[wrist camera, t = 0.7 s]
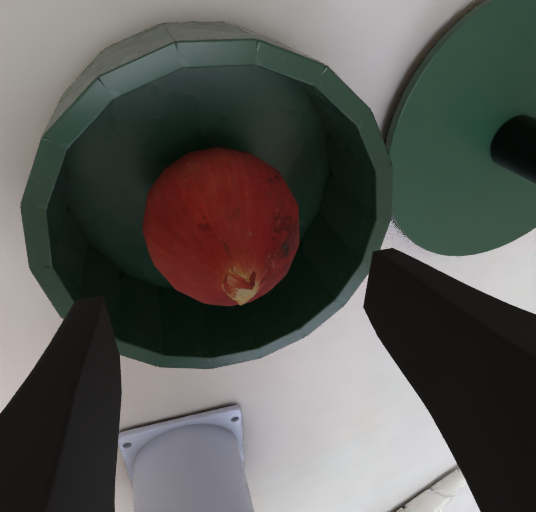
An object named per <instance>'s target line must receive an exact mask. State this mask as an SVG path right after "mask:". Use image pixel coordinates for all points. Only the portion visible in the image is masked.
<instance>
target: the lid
mask: <svg viewBox="0 0 536 512" xmlns="http://www.w3.org/2000/svg"><path fill="white" fill-rule="evenodd" d="M385 146H386V149H387V151H388V154H389V156H390V159H391V162H392V165H393V183H392V218H393V220H394V222H395V223H396V225H397V226H398V227H399V229H400V230H401V231H402V232H403V234H405V235H406V236H407V237H408V238H409V239H410V240H411V241H412V242H414V243H415V244H416V245H418V246H420V247H421V248H423V249H425V250H427V251H430V252H433V253H436V254H441V255H447V256H466V255H474V254H478V253H483V252H487V251H490V250H493V249H496V248H499V247H501V246H503V245H506V244H508V243H510V242H512V241H514V240H516V239H518V238H519V237H521V236H523V235H525V234H527V233H528V232H530V231H531V230H533V229H534V228H536V0H485V1H483V2H482V3H480V4H479V5H478V6H476V7H475V8H474V9H472V10H471V11H470V12H469V13H467V14H466V15H465V16H463V17H462V18H461V19H460V20H459V21H458V22H457V23H456V24H455V25H454V26H453V27H452V28H451V29H450V30H449V31H447V32H446V34H445V35H444V36H443V37H442V38H441V39H440V40H439V42H438V43H437V44H436V45H435V46H434V47H433V48H432V50H431V51H430V52H429V54H428V55H427V56H426V58H425V59H424V61H423V62H422V63H421V65H420V66H419V68H418V69H417V70H416V72H415V74H414V75H413V77H412V79H411V81H410V82H409V84H408V86H407V88H406V89H405V91H404V93H403V95H402V98H401V100H400V102H399V104H398V106H397V109H396V111H395V114H394V116H393V119H392V122H391V125H390V128H389V131H388V136H387V140H386V145H385Z"/></svg>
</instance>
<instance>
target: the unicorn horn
mask: <svg viewBox="0 0 536 512" xmlns="http://www.w3.org/2000/svg"><path fill="white" fill-rule="evenodd" d="M465 483H466V480H465V478H464V476H463V474H462V472H461V470H460V468H458V470H457V471H454V472H452V473H451V474H449V475H448V476H446V477H445V478H443V479H442V480H440V481H439V482H437V483H436V484H434V485H433V486H431V490H426V491H424V492H423V493H421V494H420V495H418V496H417V497H415V498H414V499H413V500H411V501H410V502H408V503H407V504H405V506H406V508H404V509H403V508H400V509H398V510H397V511H396V512H440V511H441V510H442V509H443V508H444V507H445V506H446V505H447V504H448V502H449V501H450V500H451V499H452V498H453V497H454V496H455V494H456V493H457V492H458V491H459V490H460V489H461V488H462V486H463V485H464V484H465Z"/></svg>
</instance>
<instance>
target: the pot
mask: <svg viewBox="0 0 536 512" xmlns="http://www.w3.org/2000/svg"><path fill="white" fill-rule="evenodd" d="M214 147H222V148H228V149H233V150H239V151H244V152H248V153H250V154H253V155H254V156H256V157H258V158H259V159H261V160H262V161H264V162H266V163H267V164H269V165H270V166H272V167H274V168H275V169H277V170H278V171H279V172H280V174H281V175H282V177H283V179H284V180H285V182H286V184H287V185H288V187H289V189H290V191H291V192H292V194H293V196H294V197H295V200H296V202H297V204H298V206H299V246H298V248H297V251H296V254H295V256H294V258H293V261H292V263H291V266H290V268H289V270H288V273H287V274H286V275H285V277H284V278H283V279H282V280H281V281H280V282H278V283H277V284H276V285H275V286H274V287H273V288H272V289H271V290H270V291H268V292H267V293H266V294H264V295H262V296H261V297H259V298H257V299H255V300H253V301H251V302H248V303H245V304H243V305H239V304H238V305H233V306H221V305H210V304H205V303H202V302H200V301H198V300H196V299H194V298H192V297H190V296H188V295H186V294H184V293H182V292H179V291H177V290H176V289H175V288H174V287H173V286H172V285H171V284H170V282H169V281H168V280H167V279H166V278H165V277H164V276H163V275H162V273H161V272H160V271H159V270H158V269H157V268H156V267H155V266H154V264H153V261H152V259H151V257H150V255H149V251H148V248H147V245H146V241H145V238H144V235H143V231H142V228H143V219H144V213H145V207H146V201H147V195H148V191H149V190H150V188H151V187H152V186H153V184H154V183H155V181H156V180H157V179H158V177H159V176H160V174H161V173H162V172H163V170H164V169H165V168H166V167H168V166H169V165H171V164H172V163H174V162H175V161H177V160H179V159H180V158H182V157H183V156H185V155H186V154H188V153H189V152H194V151H199V150H204V149H209V148H214ZM392 183H393V165H392V162H391V159H390V156H389V154H388V151H387V149H386V146H385V143H384V141H383V138H382V136H381V133H380V131H379V128H378V125H377V123H376V120H375V118H374V115H373V112H372V111H371V109H370V108H369V107H368V106H367V105H366V104H365V103H364V102H363V101H362V100H361V99H360V98H359V97H358V96H357V95H356V94H355V93H354V92H353V91H352V90H351V89H350V88H349V87H348V86H347V85H346V84H345V83H344V82H343V81H342V80H341V79H340V78H339V77H338V76H337V75H336V74H335V73H334V72H333V71H332V70H331V69H330V68H329V67H328V66H326V65H325V64H323V63H321V62H319V61H317V60H315V59H313V58H311V57H308V56H306V55H304V54H302V53H300V52H298V51H296V50H293V49H291V48H289V47H287V46H285V45H283V44H281V43H278V42H276V41H273V40H271V39H268V38H266V37H263V36H260V35H258V34H255V33H253V32H250V31H248V30H245V29H243V28H240V27H237V26H235V25H232V24H230V23H225V22H184V23H164V24H159V25H157V26H155V27H153V28H151V29H148V30H145V31H143V32H140V33H138V34H136V35H133V36H131V37H129V38H126V39H124V40H123V41H121V42H120V43H117V44H115V45H113V46H111V47H108V48H106V49H105V50H104V51H102V52H101V53H100V54H99V55H98V56H97V58H96V59H95V60H94V61H93V62H92V63H91V64H90V65H89V66H88V67H87V68H86V69H85V70H84V71H83V73H82V74H81V75H80V76H79V77H78V78H77V80H76V81H75V82H74V83H73V84H72V85H71V86H70V87H69V89H68V90H67V91H66V92H65V93H64V94H63V96H62V97H61V99H60V101H59V103H58V105H57V107H56V109H55V111H54V113H53V115H52V117H51V119H50V121H49V123H48V125H47V128H46V130H45V132H44V134H43V136H42V138H41V141H40V144H39V147H38V150H37V153H36V157H35V160H34V163H33V166H32V169H31V172H30V175H29V179H28V182H27V185H26V188H25V191H24V194H23V197H22V201H21V206H20V208H21V215H22V222H23V229H24V236H25V243H26V250H27V257H28V264H29V268H30V270H31V272H32V274H33V275H34V277H35V278H36V280H37V281H38V283H39V284H40V286H41V288H42V289H43V291H44V292H45V294H46V295H47V297H48V298H49V300H50V301H51V303H52V305H53V306H54V308H55V309H56V311H57V312H58V314H59V315H60V317H61V318H63V320H64V319H65V317H66V315H67V313H68V312H69V310H70V308H71V306H72V305H73V303H74V302H75V301H76V300H80V299H86V298H92V297H98V296H103V297H104V301H105V304H106V308H107V311H108V315H109V319H110V322H111V326H112V329H113V333H114V336H115V340H116V343H117V347H118V351H119V354H120V355H122V356H125V357H128V358H131V359H135V360H138V361H141V362H144V363H147V364H150V365H154V366H158V367H167V368H196V369H210V368H211V369H213V368H217V367H222V366H227V365H231V364H236V363H241V362H245V361H250V360H255V359H259V358H262V357H264V356H266V355H268V354H270V353H273V352H275V351H277V350H279V349H281V348H283V347H285V346H287V345H289V344H292V343H294V342H296V341H298V340H300V339H302V338H304V337H305V336H307V335H309V334H310V333H311V332H312V331H314V330H315V329H316V328H317V327H318V326H320V325H321V324H322V323H323V322H325V321H326V320H327V319H328V318H330V317H331V316H332V315H333V314H335V313H336V312H337V311H338V310H340V309H341V308H342V307H343V306H344V305H345V304H346V303H347V302H348V300H349V299H350V298H351V296H352V295H353V294H354V292H355V291H356V289H357V288H358V287H359V285H360V284H361V283H362V281H363V280H364V279H365V277H366V276H367V275H368V273H369V271H370V265H371V259H372V253H373V251H378V250H380V248H381V245H382V243H383V240H384V237H385V234H386V232H387V229H388V226H389V223H390V221H391V217H392Z"/></svg>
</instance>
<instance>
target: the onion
mask: <svg viewBox="0 0 536 512" xmlns="http://www.w3.org/2000/svg"><path fill="white" fill-rule="evenodd" d="M142 231H143V235H144V238H145V241H146V245H147V248H148V251H149V255H150V257H151V259H152V261H153V264H154V266H155V267H156V268H157V269H158V270H159V271H160V272H161V273H162V275H163V276H164V277H165V278H166V279H167V280H168V281H169V282H170V284H171V285H172V286H173V287H174V288H175V289H176V290H177V291H179V292H182V293H184V294H186V295H188V296H190V297H192V298H194V299H196V300H198V301H200V302H202V303H205V304H210V305H221V306H233V305H238V304H239V305H243V304H245V303H248V302H251V301H253V300H255V299H257V298H259V297H261V296H262V295H264V294H266V293H267V292H268V291H270V290H271V289H272V288H273V287H274V286H275V285H276V284H277V283H278V282H280V281H281V280H282V279H283V278H284V277H285V275H286V274H287V273H288V270H289V268H290V266H291V263H292V261H293V258H294V256H295V254H296V251H297V248H298V246H299V206H298V204H297V202H296V200H295V197H294V196H293V194H292V192H291V191H290V189H289V187H288V185H287V184H286V182H285V180H284V179H283V177H282V175H281V174H280V172H279V171H278V170H277V169H275V168H274V167H272V166H270V165H269V164H267V163H266V162H264V161H262V160H261V159H259V158H258V157H256V156H254V155H253V154H250V153H248V152H244V151H239V150H233V149H228V148H222V147H214V148H209V149H204V150H199V151H194V152H189V153H188V154H186V155H185V156H183V157H182V158H180V159H179V160H177V161H175V162H174V163H172V164H171V165H169V166H168V167H166V168H165V169H164V170H163V172H162V173H161V174H160V176H159V177H158V179H157V180H156V181H155V183H154V184H153V186H152V187H151V188H150V190H149V191H148V195H147V201H146V207H145V213H144V219H143V228H142Z"/></svg>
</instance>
